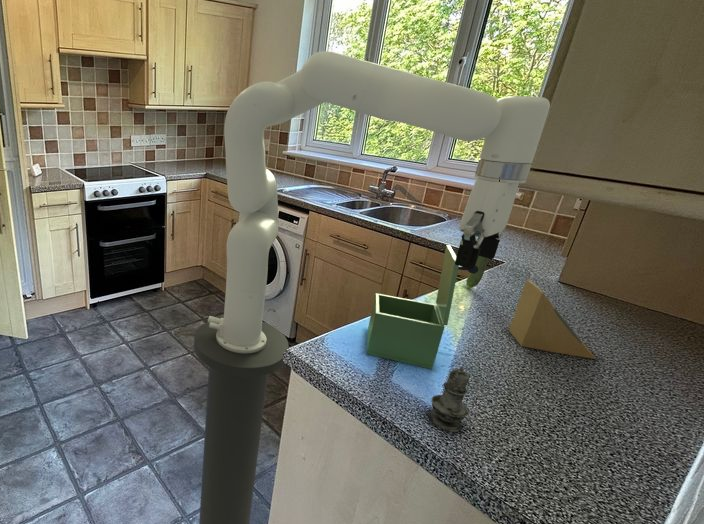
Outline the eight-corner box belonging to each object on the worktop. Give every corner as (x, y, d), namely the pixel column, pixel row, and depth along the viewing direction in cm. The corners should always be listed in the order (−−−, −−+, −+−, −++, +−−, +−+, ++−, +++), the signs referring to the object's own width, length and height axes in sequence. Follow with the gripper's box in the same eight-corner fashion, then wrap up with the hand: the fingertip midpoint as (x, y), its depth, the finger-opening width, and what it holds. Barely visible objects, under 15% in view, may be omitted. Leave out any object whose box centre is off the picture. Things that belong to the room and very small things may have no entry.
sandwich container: (597, 360, 96) (623, 303, 91) (521, 346, 101) (542, 292, 95) (578, 341, 104) (600, 288, 99) (508, 329, 108) (526, 278, 103)
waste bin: (366, 353, 95) (375, 313, 91) (367, 330, 105) (375, 293, 101) (432, 369, 90) (444, 327, 86) (426, 343, 100) (437, 304, 96)
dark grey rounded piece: (469, 435, 72) (489, 379, 68) (433, 430, 73) (451, 374, 69) (455, 412, 78) (472, 359, 73) (422, 407, 78) (437, 355, 74)
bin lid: (455, 261, 82) (484, 264, 80) (446, 244, 92) (472, 246, 90) (442, 324, 86) (470, 328, 85) (435, 302, 96) (460, 305, 95)
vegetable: (480, 289, 133) (498, 231, 125) (477, 293, 130) (496, 233, 123) (464, 285, 135) (481, 227, 128) (461, 289, 132) (479, 230, 125)
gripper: (494, 165, 79) (470, 248, 85) (458, 171, 69) (433, 264, 75) (542, 171, 74) (513, 259, 80) (510, 178, 64) (479, 278, 70)
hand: (474, 261), depth 78 cm, fingers open, 9 cm apart
